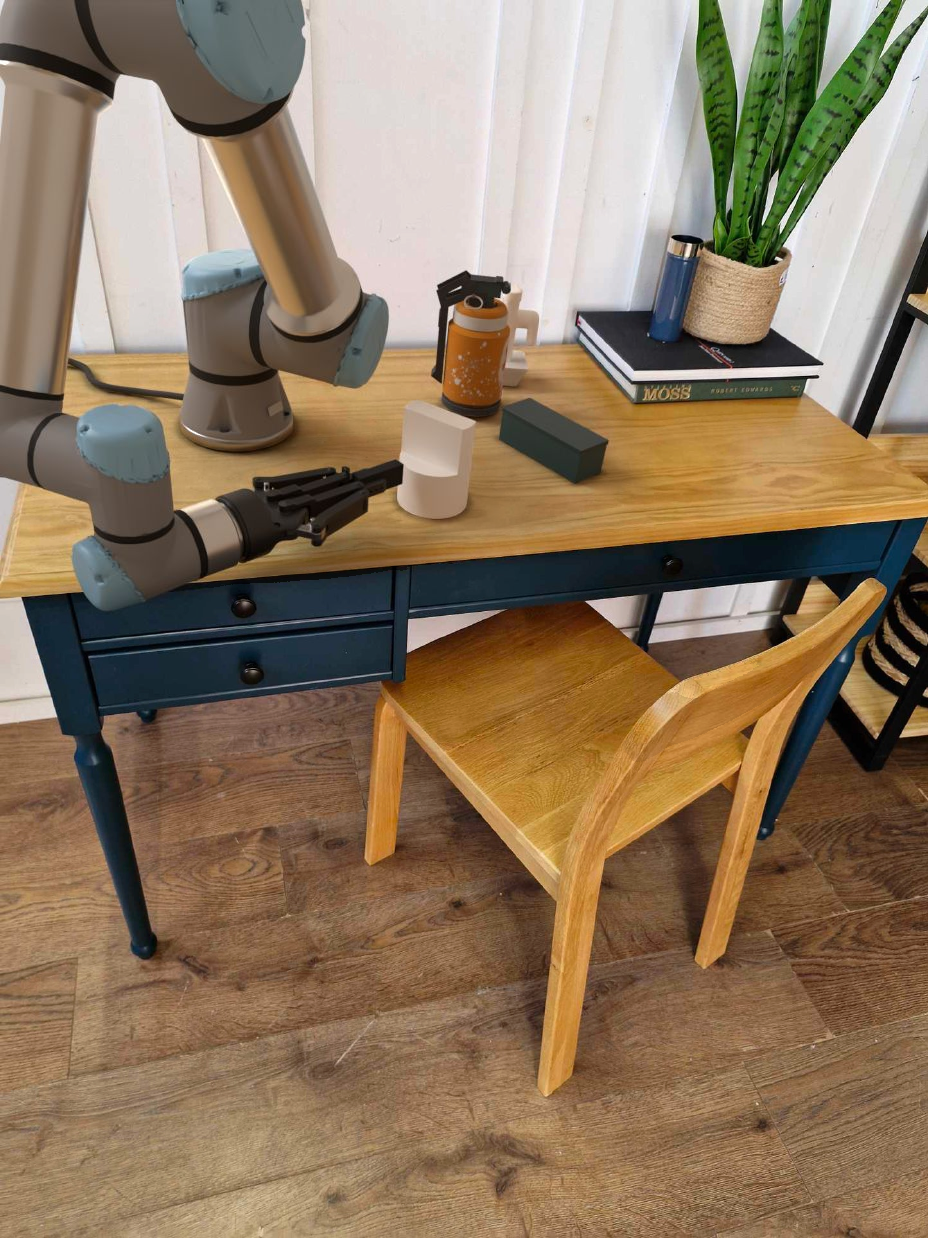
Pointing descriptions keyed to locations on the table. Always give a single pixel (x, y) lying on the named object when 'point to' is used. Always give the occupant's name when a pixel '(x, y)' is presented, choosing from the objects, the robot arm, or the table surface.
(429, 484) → the cylinder with rectangular tab
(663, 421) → the table surface
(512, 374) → the figurine
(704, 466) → the table surface
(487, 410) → the canister
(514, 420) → the pencil box
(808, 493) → the table surface
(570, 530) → the table surface
